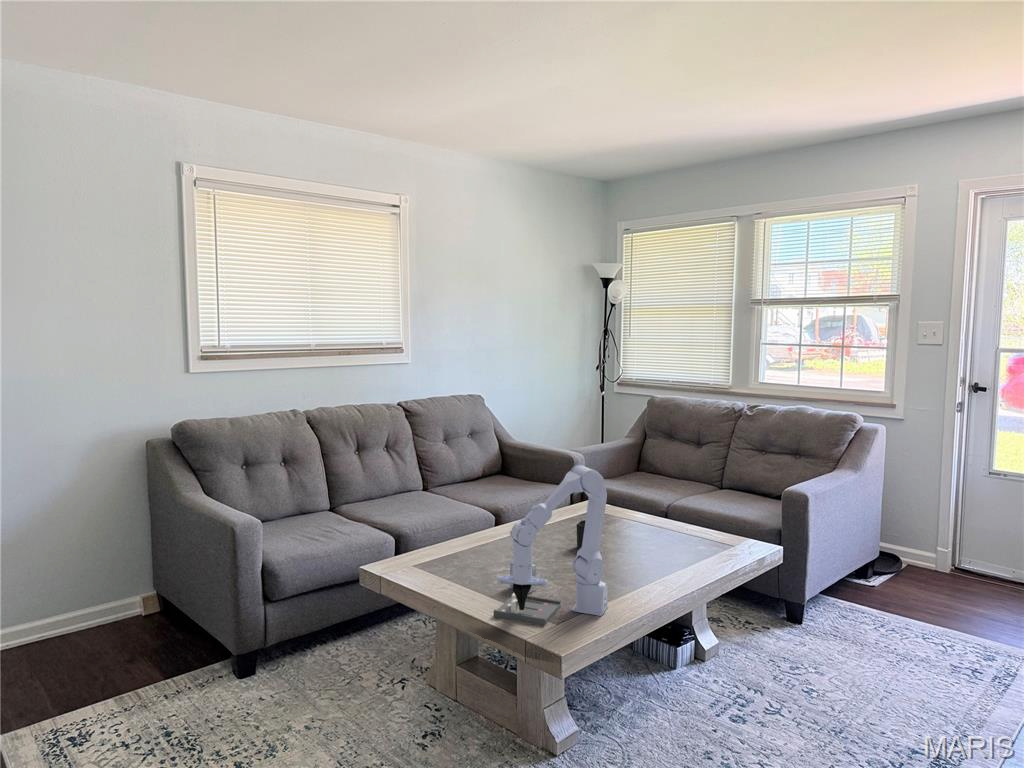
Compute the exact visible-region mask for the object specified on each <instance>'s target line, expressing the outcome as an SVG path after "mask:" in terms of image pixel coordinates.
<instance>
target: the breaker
mask: <svg viewBox="0 0 1024 768" xmlns="http://www.w3.org/2000/svg"><path fill="white" fill-rule="evenodd" d="M512 593H513V594H512ZM512 593H511V596H512V601H513V600H514V599H516V600H517V598H516V596H515V593H514V592H512Z"/></svg>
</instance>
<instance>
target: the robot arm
mask: <svg viewBox="0 0 1024 768" xmlns="http://www.w3.org/2000/svg"><path fill="white" fill-rule="evenodd" d="M604 481H605V480H604V477H603V475H601V474H600V472H598V471H597V470H595V469H592V468H589V467H586V466H585V465H583V464H575V465H574V466H573V467H572V468H571V469H570V470H569V471H568V472H567V473H566V474H565V476H564V478H563V479H562V481H561V482H560V483H559V485H557V487H556V488H555V489H554V491H553V492H551V494H550V495H549V496H548V497H547V499H546V500H544V502H542V503H537V504H536V505H532V507H531V510H530V512H528V513H527V514H526V515H525V517H523V518H521V519H520V521H519V522H516V523H515V524H514V525H513V526H512V527H511V530H510V531H509V534H510V537H511V539H512V544H513V545H512V546H513V547H512V562H513V575H510V574H509V575H498V576H497V585H502V584H503V585H510V584H513V588H511V589H512V591H513V592H512V593H515V596H516V598H517V601H518V604H519V610H524V608H525V602H526V598H527V595H529V594H530V593H529V591H530V589H531V586H536V587H543V588H548V587H547V586H548V579H547V578H543V577H542V578H541V577H537V576H536V577H533V576H532V564H533V543H534V542H535V541H536V539H537V534H538V533H539V532H540V530H541V529H543V527H544V526H545V525H546V524H547V523H548V522H549V521H550V520H551V518H552V517H553V511H555V509H556V508H557V507H558V506H559V505H560V504H561V503H562V502H564V501H565V500H566V499H568V498H567V497H569V496H570V495H571V494H575V493H583V492H584V493H585V495H586V496H588V500H587V505H586V506H587V507H586V514H585V515H586V516H585V520H586V521H585V528H584V535H583V542H582V548H580V549H578V550H577V553H576V557H575V558H574V560H573V562H572V570H573V571H574V572H575V573H576V574H575V575H576V577H575V583H576V584H575V604H574V606H573V607H572V608H571V612H575V613H580V614H581V613H582V614H587V615H588V614H589V615H594V616H600V617H602V616H603V615H604V613H605V612H606V610H607V609H608V607H609V605H608V598H609V597H608V593H609V591H608V590H609V589H608V588H609V587H608V583H606V582H603V581H602V579H603V578H604V575H605V570H604V567H603V565H604V563H603V562H604V560H603V558H602V555H601V551H600V550H601V549H600V548H601V543H602V535H603V527H604V520H605V514H606V513H605V512H606V507H607V506H606V505H607V499H608V492H607V489H606V486H605V484H604Z"/></svg>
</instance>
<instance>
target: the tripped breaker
mask: <svg viewBox="0 0 1024 768" xmlns="http://www.w3.org/2000/svg"><path fill="white" fill-rule="evenodd" d="M511 612H512V613H518V612H519V604H518V601H517V600H516V599H514V600H513V601H512V602H511Z"/></svg>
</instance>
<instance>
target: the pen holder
mask: <svg viewBox="0 0 1024 768" xmlns="http://www.w3.org/2000/svg"><path fill="white" fill-rule="evenodd" d="M585 521H586V519H584V520H581V521H579V522H578V523H576V547H577V549H578V550H579V549H580V548H582V542H583V535H584V528H585Z"/></svg>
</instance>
